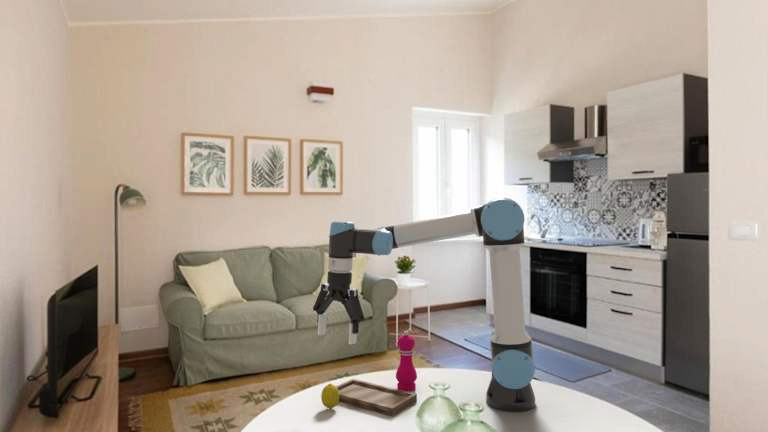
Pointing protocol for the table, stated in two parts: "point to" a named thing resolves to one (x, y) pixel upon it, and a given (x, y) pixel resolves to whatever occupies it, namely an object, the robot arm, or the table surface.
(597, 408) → the table surface
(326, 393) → the lemon
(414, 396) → the walnut tray
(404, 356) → the pepper mill
